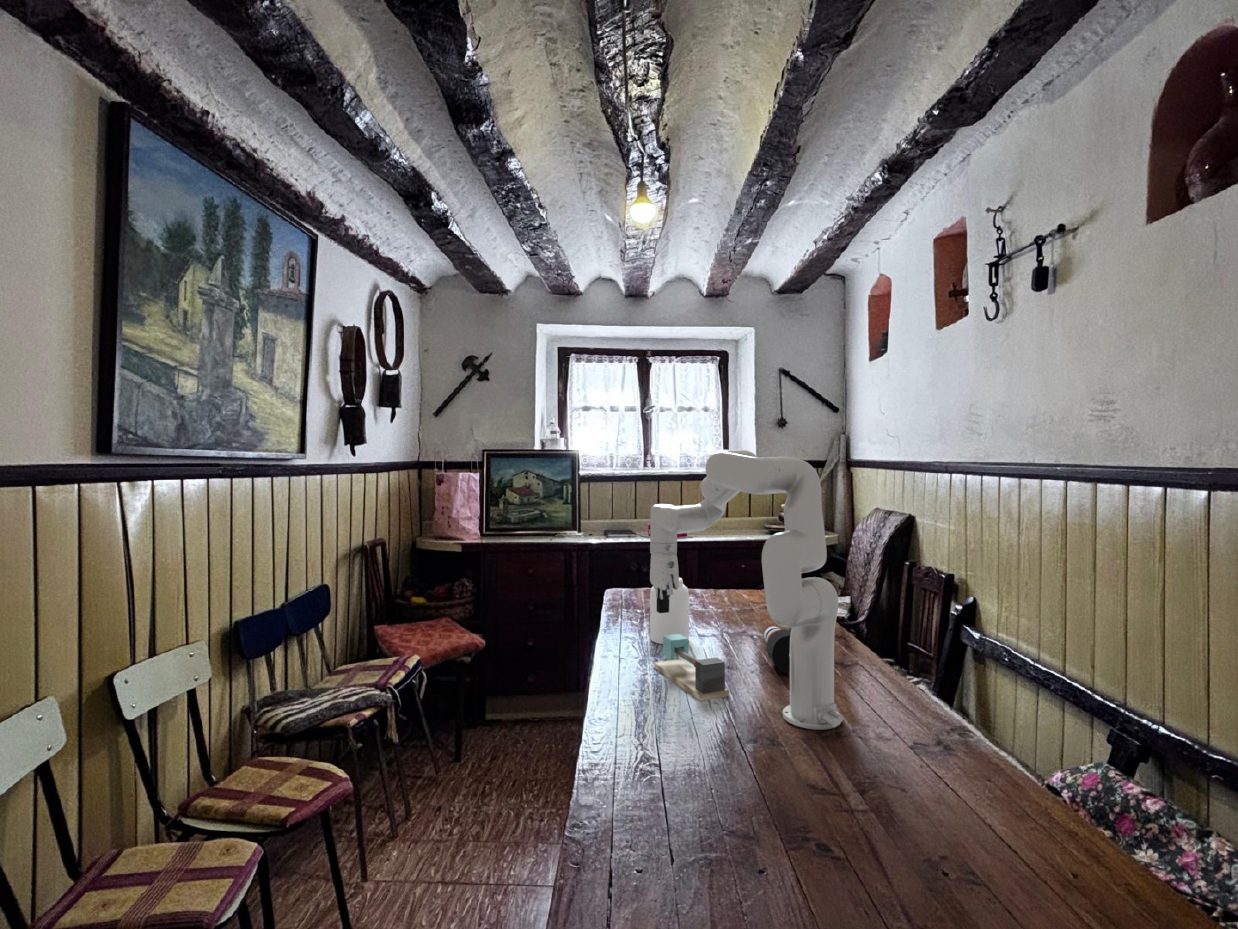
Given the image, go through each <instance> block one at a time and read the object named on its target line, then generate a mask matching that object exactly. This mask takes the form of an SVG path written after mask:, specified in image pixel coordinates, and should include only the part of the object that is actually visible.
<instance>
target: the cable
mask: <svg viewBox="0 0 1238 929" xmlns="http://www.w3.org/2000/svg"><path fill="white" fill-rule="evenodd" d="M790 634H791V630H789V629H785V628H783V629H781V628H780V627H778V626H774V625H773V626H769V627H767V629H766V630H765V631H764V634H763V638H764V641H765V643H766V653H767V655H768V657H769V659H770V661H771V662H772V663H773V664H774V665H775V666H776V668H778V669H779V671H780V672H783V673H785V674H787V675H790Z"/></svg>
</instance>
